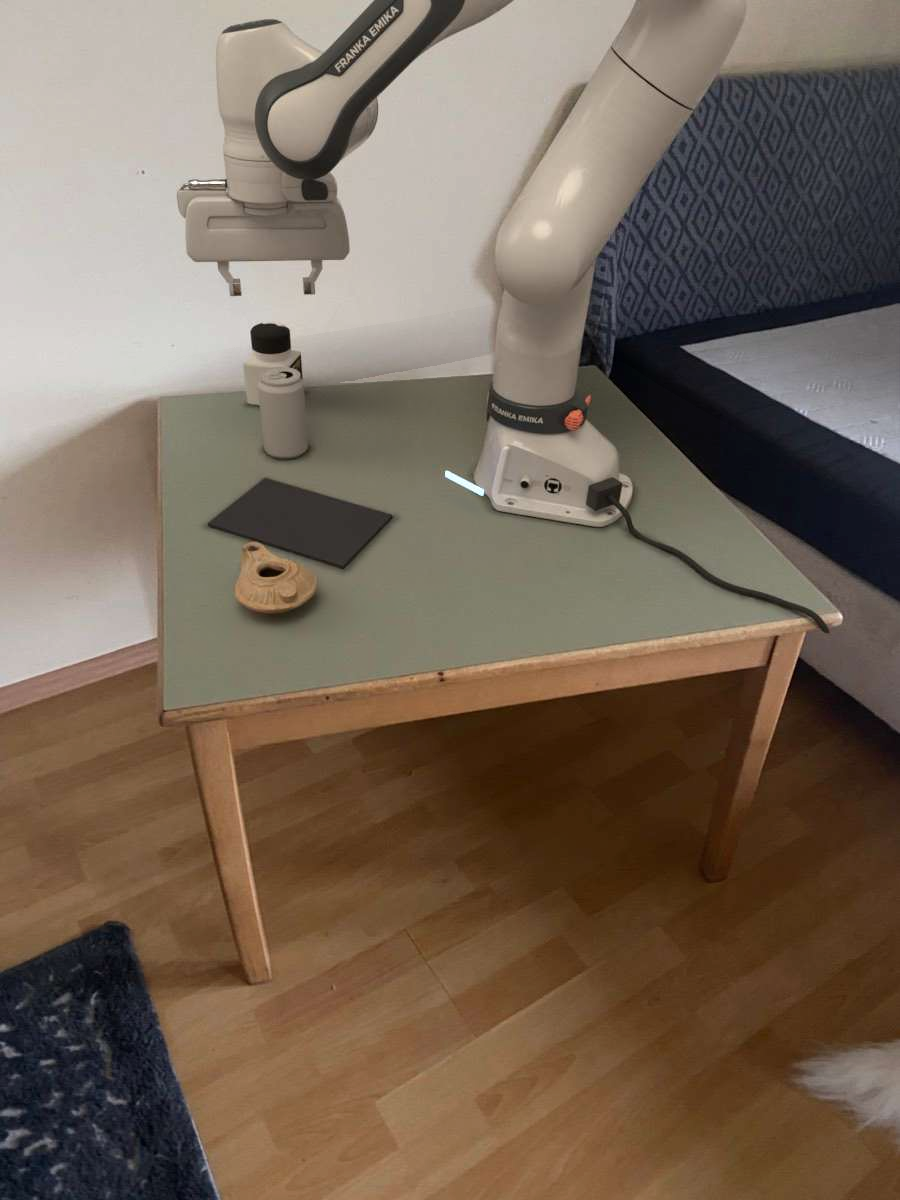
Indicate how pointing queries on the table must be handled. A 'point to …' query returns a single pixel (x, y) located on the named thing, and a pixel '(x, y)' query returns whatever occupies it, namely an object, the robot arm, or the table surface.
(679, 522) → the table surface
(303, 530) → the mat
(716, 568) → the table surface
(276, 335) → the medicine bottle
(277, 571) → the pottery oil lamp
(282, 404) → the beverage can
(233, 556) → the table surface
